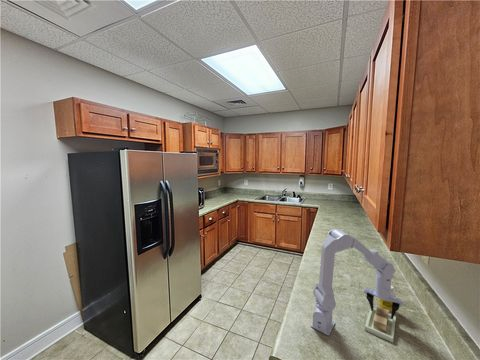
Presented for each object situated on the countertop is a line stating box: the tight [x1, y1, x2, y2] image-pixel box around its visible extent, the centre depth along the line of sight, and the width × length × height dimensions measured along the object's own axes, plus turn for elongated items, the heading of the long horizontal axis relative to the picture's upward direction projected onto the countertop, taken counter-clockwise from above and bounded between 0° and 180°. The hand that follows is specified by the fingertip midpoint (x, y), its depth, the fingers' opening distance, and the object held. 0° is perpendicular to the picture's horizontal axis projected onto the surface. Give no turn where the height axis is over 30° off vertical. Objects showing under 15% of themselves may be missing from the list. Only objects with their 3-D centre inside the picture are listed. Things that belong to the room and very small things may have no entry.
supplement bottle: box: [378, 284, 397, 314], centre depth 101 cm, size 7×7×13 cm
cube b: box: [376, 306, 389, 325], centre depth 94 cm, size 4×4×4 cm
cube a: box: [373, 314, 387, 334], centre depth 89 cm, size 4×4×4 cm
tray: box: [364, 307, 397, 344], centre depth 92 cm, size 16×10×2 cm, turn 139°
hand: (381, 313), depth 94 cm, fingers open, 7 cm apart
